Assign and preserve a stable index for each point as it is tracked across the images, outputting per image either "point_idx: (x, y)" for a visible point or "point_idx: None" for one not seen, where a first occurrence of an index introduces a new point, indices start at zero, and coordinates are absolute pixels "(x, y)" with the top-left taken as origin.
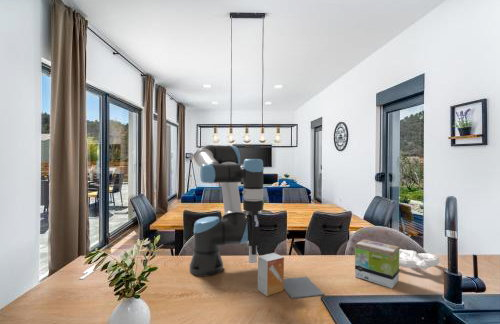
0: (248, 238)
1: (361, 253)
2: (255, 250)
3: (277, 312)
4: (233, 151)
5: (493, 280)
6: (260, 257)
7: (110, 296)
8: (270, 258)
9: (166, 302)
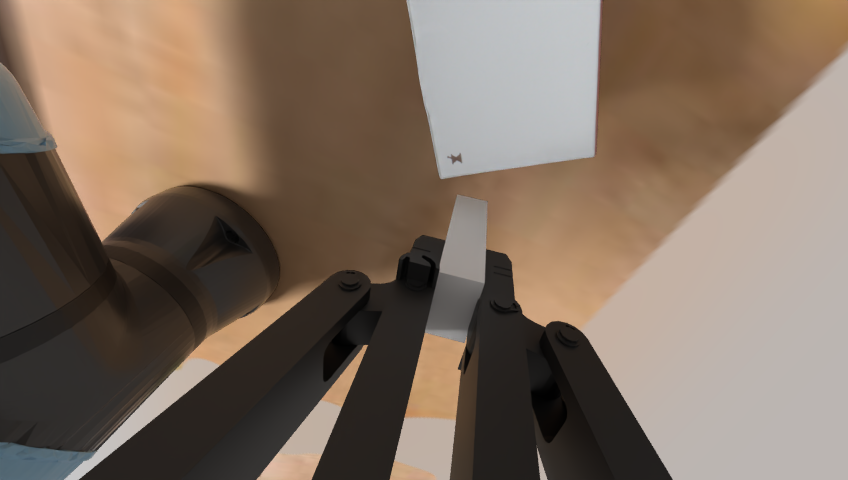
0: (355, 354)
1: None
2: (512, 283)
3: (698, 132)
4: None
5: None
6: (475, 173)
7: None
8: (549, 94)
9: (421, 395)
